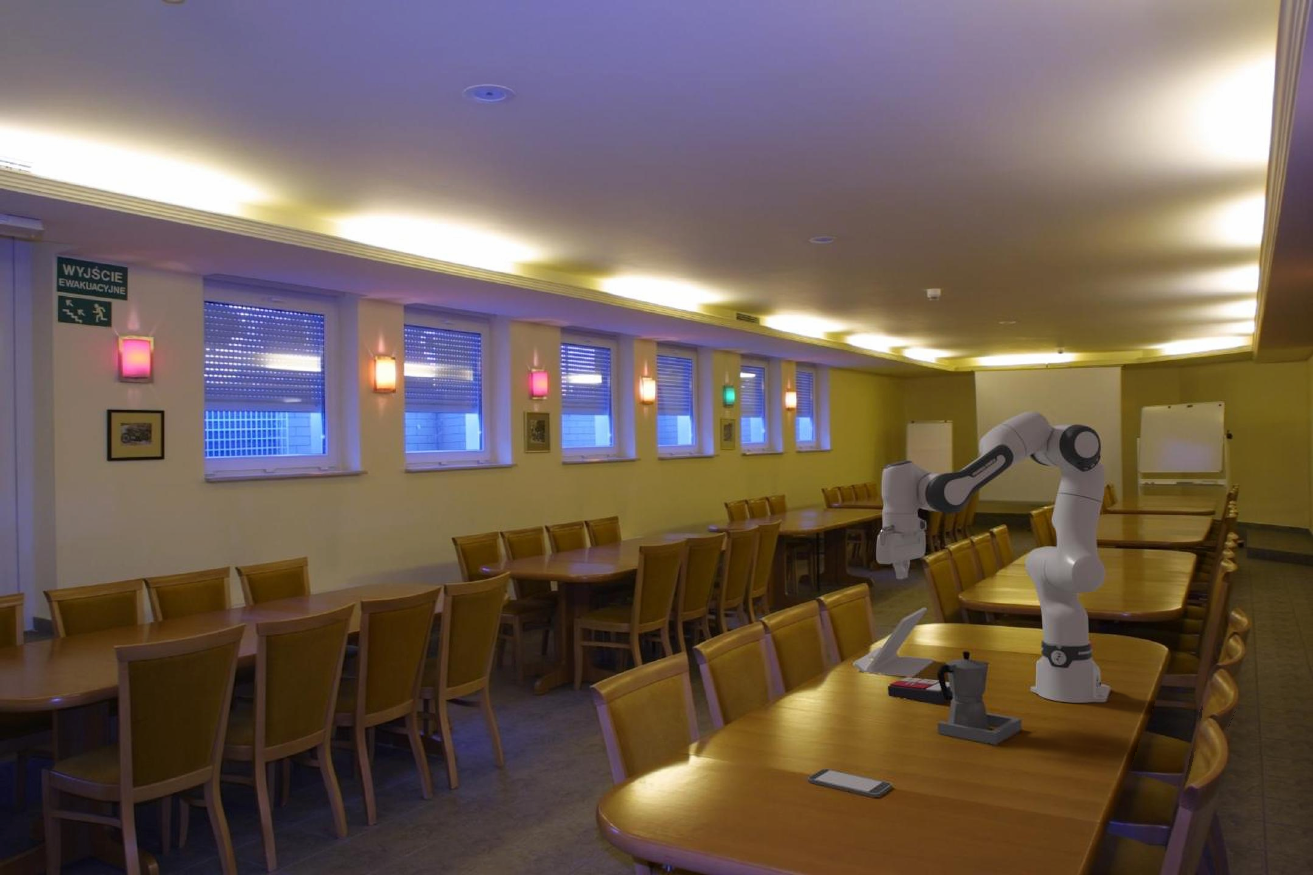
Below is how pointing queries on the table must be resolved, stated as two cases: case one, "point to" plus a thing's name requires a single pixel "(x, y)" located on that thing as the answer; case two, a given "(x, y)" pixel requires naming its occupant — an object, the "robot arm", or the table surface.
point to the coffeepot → (965, 691)
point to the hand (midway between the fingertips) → (902, 578)
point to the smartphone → (850, 782)
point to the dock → (1004, 730)
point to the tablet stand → (895, 652)
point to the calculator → (919, 690)
